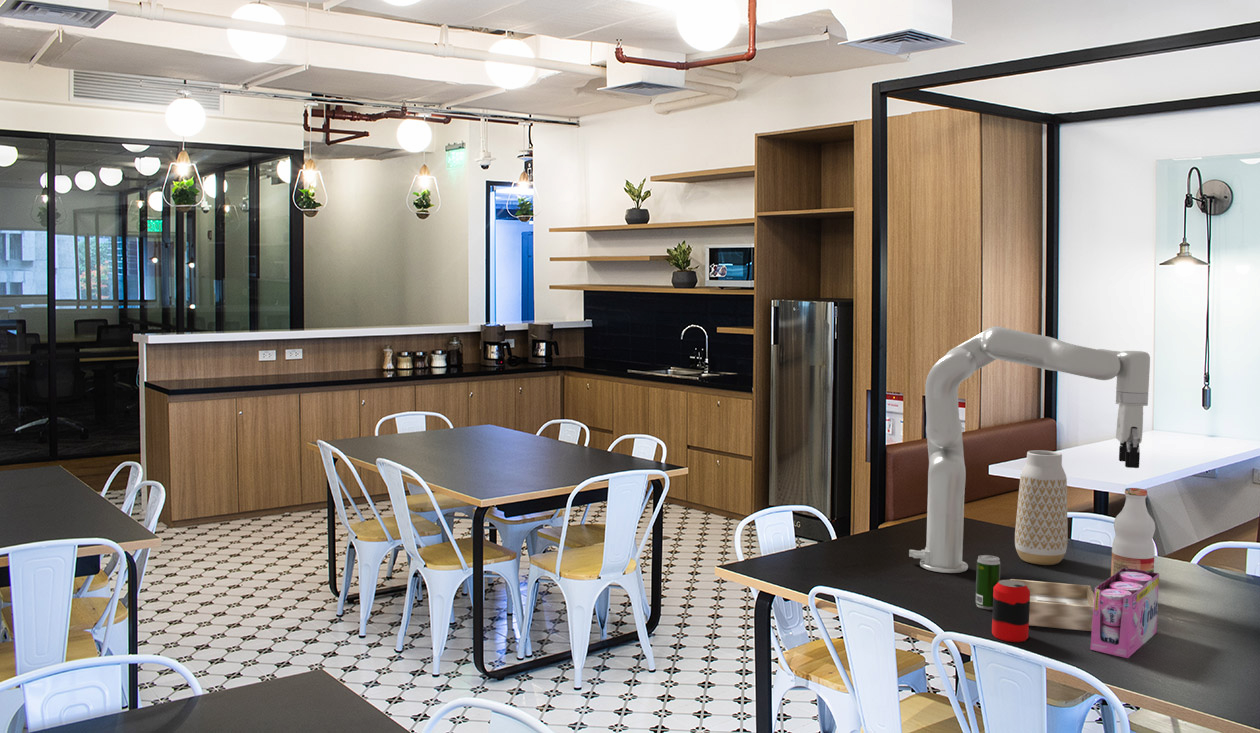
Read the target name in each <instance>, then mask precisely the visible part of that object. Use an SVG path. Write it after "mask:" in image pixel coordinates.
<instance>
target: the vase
mask: <svg viewBox="0 0 1260 733" xmlns="http://www.w3.org/2000/svg"><path fill="white" fill-rule="evenodd" d="M1067 480H1068V478H1067V474H1066V472H1065V469H1064V467H1063V454H1062V453H1061V452H1057V451H1052V450H1042V449H1041V450H1039V449H1038V450H1028V451H1027V452H1026V463H1025V465H1024V466H1023V469H1022V470H1021V473H1020V478H1019V486H1018V487H1019V488H1018V498H1017V507H1016V508H1017V510H1016V517H1015V518H1016V519H1015V530H1014V546H1015V550H1016V552H1017V555H1018V556H1019V558H1020V559H1021V560H1022V561H1024V562H1026V563H1029V564H1034V565H1040V566H1052V565H1057V564H1059V563H1060V562H1061V561H1062V560H1063V559H1064V557H1065V555H1066V553H1067V548H1068V537H1069V536H1068V534H1069V533H1068V532H1069V531H1068V484H1067V483H1068V481H1067Z"/></svg>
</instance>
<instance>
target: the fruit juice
mask: <svg viewBox="0 0 1260 733" xmlns="http://www.w3.org/2000/svg"><path fill="white" fill-rule="evenodd" d="M1124 496H1125V502H1124V506H1123V507H1122V510H1120V512H1119V513H1118V514H1117V515H1116V516H1115V518H1114V521H1113V527H1114V528H1113V529H1114V532H1115V536H1114V538H1113V541H1112V545H1111V564H1110V565H1111V566H1110V577H1111V576H1113V575H1114V574H1116V573H1117V572H1118V571H1119V570H1121V569H1122V568H1130V569H1136V570H1142V571H1148V572H1154V571H1155V557H1156V556H1155V554H1156V553H1155V552H1156V551H1155V550H1156V549H1155V548H1156V547H1155V543H1154V540H1153V537H1154V534H1155V532H1156V522H1155V521H1154V519H1153V517H1152V516H1151V515H1150V513H1149V511H1148V508H1147V504H1146V498H1147V496H1148V491H1147V489H1144V488H1141V487H1140V488H1137V487H1126V488H1125V489H1124ZM1154 573H1155V572H1154Z"/></svg>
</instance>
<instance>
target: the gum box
mask: <svg viewBox="0 0 1260 733" xmlns="http://www.w3.org/2000/svg"><path fill="white" fill-rule="evenodd" d="M1159 587H1160V573H1158V572H1148V571H1142V570H1136V569H1130V568H1122V569H1121V570H1119V571H1118V572H1117V573H1116V574H1114V575H1113V576H1111V575H1110V577H1109V578H1107V579H1106V580H1105V581H1102V582H1101V583H1100V584H1098V585H1097V586H1095V588H1094V595H1095V596H1094V608H1093V621H1092V631H1091V637H1090V650H1091V651H1096V652H1098V653H1102V654H1108V655H1111V656H1116V657H1121V658H1125V659H1129V658H1130V657H1131V656H1132V655H1133V654H1134V653H1136V652H1137V650H1139V649H1140V648H1141V647H1142V646H1143V645H1145V644H1146V643H1147V641H1149V640H1150V639H1152V637H1153V636H1154V635H1155V634H1157V630H1158V628H1157V626H1158V608H1159V607H1158V606H1159Z"/></svg>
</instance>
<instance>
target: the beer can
mask: <svg viewBox="0 0 1260 733" xmlns="http://www.w3.org/2000/svg"><path fill="white" fill-rule="evenodd" d="M975 577H976V579H975V598H974V599H975V605H976V607H978V608H979V609H982V610H988V611H990V610H992V611H993V589H994V586H995V585H996V584H997V583H998V582H999V581H1000V580H1001V560H1000V558H999V557H998V556H995V555H990V554H983V555H978V557H977V559H976V576H975Z"/></svg>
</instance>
